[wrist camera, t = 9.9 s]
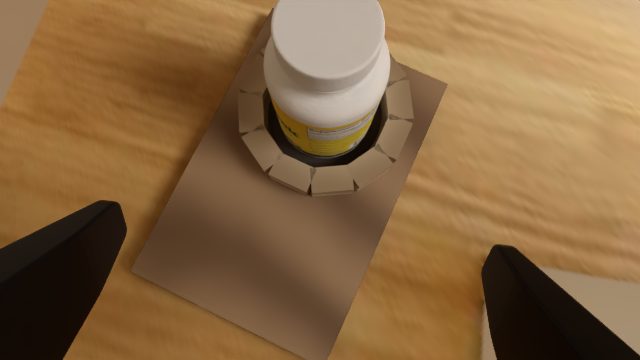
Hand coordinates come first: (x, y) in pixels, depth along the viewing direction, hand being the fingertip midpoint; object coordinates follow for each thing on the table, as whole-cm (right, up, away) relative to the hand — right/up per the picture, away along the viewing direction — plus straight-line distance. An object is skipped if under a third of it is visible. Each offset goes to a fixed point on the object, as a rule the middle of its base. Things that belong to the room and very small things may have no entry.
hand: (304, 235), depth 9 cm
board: (-1, +2, +14) cm, 14 cm away
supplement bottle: (+1, +5, +14) cm, 15 cm away
